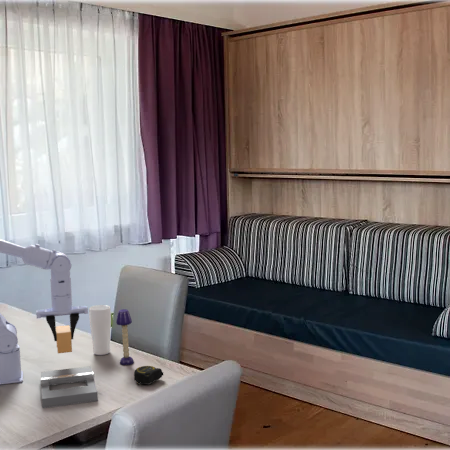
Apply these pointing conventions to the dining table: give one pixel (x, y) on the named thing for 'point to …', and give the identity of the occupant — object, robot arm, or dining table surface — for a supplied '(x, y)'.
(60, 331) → the tall orange box
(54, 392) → the gray rectangular frame
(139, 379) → the tape measure
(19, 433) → the dining table surface
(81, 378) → the hook bar
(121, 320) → the toy lamp
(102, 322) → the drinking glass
